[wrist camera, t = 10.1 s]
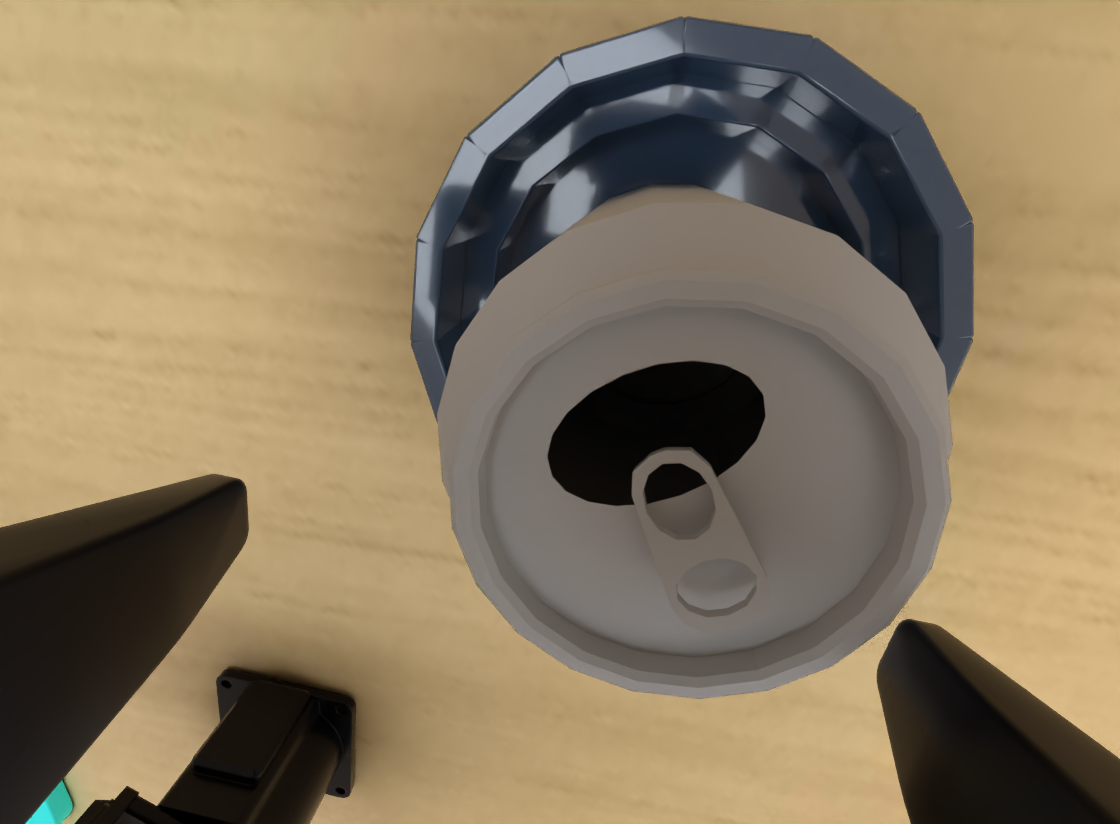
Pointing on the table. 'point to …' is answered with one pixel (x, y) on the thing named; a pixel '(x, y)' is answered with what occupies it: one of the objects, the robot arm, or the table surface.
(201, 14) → the table surface
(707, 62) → the bowl
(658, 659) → the can
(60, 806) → the handheld game console
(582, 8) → the table surface
